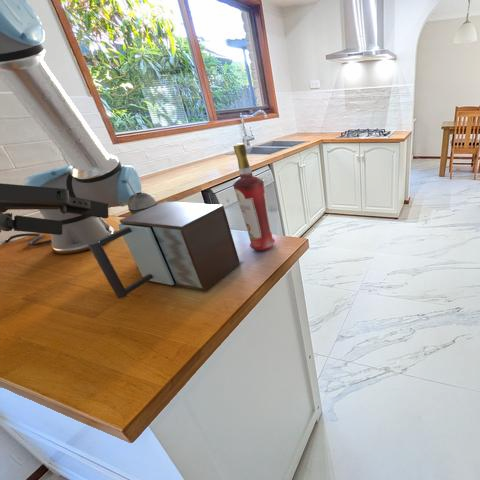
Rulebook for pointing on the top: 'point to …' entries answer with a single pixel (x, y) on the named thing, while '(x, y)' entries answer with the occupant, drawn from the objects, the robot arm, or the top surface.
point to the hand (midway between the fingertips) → (83, 219)
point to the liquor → (252, 202)
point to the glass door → (143, 254)
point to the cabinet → (191, 241)
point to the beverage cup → (139, 201)
